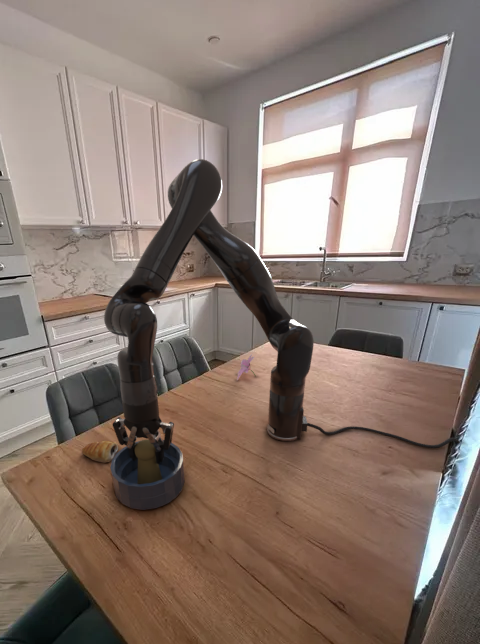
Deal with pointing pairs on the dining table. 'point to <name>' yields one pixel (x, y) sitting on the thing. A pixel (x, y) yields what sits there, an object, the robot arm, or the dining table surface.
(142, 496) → the basin
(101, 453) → the pastry
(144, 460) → the olive game pawn
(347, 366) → the dining table surface
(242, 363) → the lily
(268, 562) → the dining table surface
